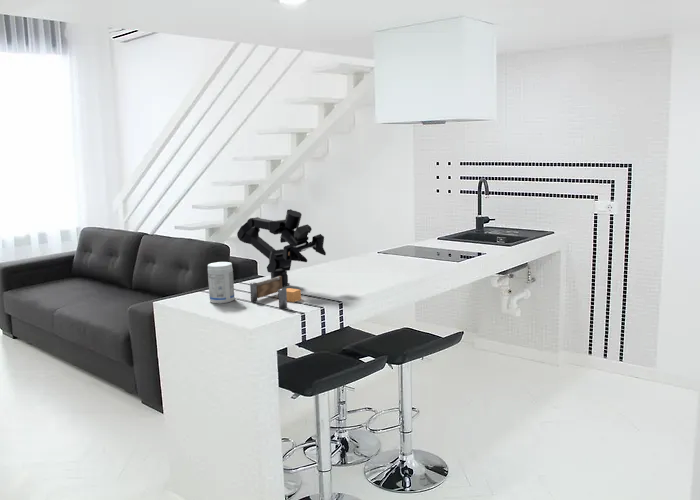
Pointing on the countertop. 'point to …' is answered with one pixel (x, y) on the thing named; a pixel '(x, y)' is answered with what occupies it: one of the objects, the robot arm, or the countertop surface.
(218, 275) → the supplement tub
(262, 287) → the gate
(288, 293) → the orange-brown rectangular block
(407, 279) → the countertop surface
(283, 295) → the gate posts
